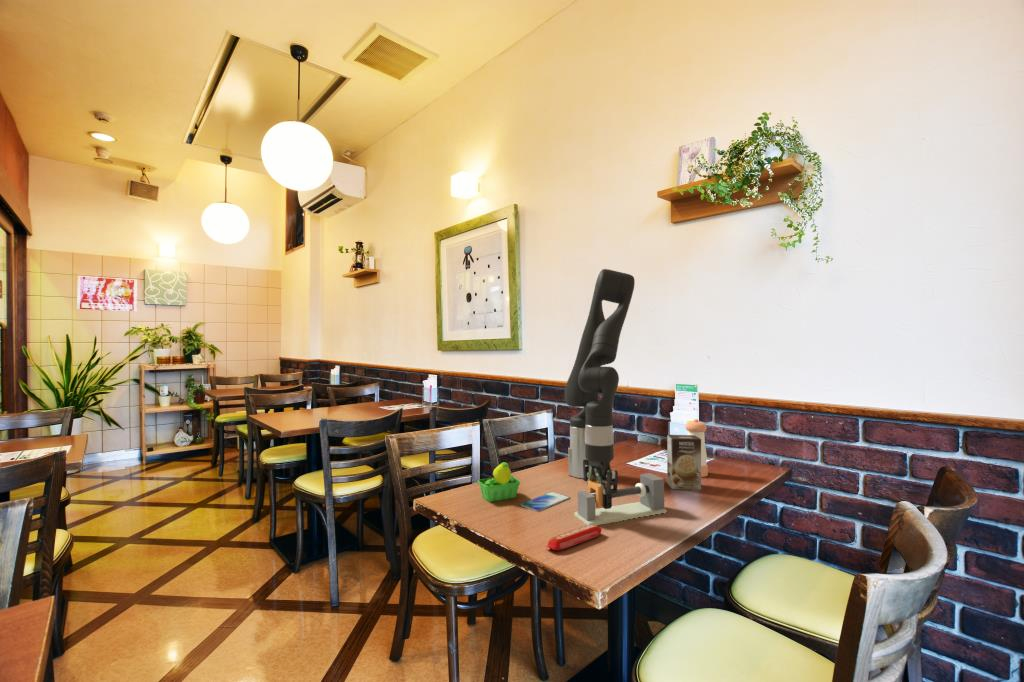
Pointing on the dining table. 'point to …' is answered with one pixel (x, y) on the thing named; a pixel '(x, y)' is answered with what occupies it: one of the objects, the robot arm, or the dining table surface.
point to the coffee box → (684, 462)
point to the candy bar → (574, 537)
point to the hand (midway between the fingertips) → (599, 503)
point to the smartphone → (544, 501)
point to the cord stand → (648, 505)
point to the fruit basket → (499, 484)
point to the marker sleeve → (596, 488)
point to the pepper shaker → (698, 430)
